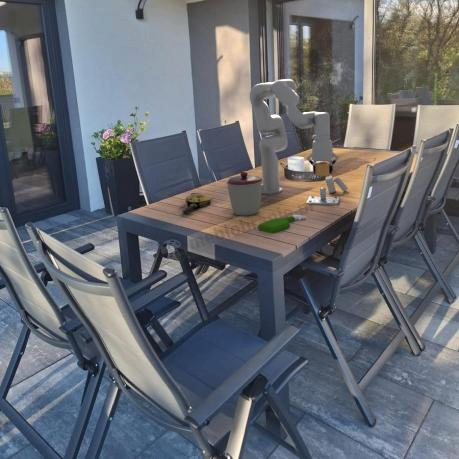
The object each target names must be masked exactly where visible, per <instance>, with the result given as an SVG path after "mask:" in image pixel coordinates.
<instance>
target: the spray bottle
mask: <svg viewBox="0 0 459 459" xmlns="http://www.w3.org/2000/svg"><path fill="white" fill-rule="evenodd" d="M307 219H308V216H305V215H301V214H293V215H291V216H286V217H276V218H275V217H274V218H272V219H269V220H266V221H263V222H261V223H259V224H258V227H257V228H258V230H259V231H262V232H266V233H269V234H274V233H275V234H276V233H278V232H281V231H285V230H286V229H288V228H290V223H292V222H295V221H296V220H298V221H301V220H307Z"/></svg>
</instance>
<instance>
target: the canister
mask: <svg viewBox="0 0 459 459" xmlns="http://www.w3.org/2000/svg"><path fill="white" fill-rule="evenodd" d="M248 174H249V173H248V172H247V171H241V172H240V175H238V176H233V177H230V178H229V179H227V181H225V184H226V185H227V190H228V194H229V200H230V204H231V209H232V212H233V214H235V215H237V216H243V217H244V216H245V217H247V216H248V217H249V216H252V215H256V214H258V213H259V211H260V209H261V203H262V202H261V200H262V193H261V187H262V184H263V178H261V177H260V176H258V175H251V174H249V175H248Z"/></svg>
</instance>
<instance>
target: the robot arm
mask: <svg viewBox="0 0 459 459" xmlns="http://www.w3.org/2000/svg"><path fill="white" fill-rule="evenodd" d="M270 99H277V100H278V101H279V102H280V103H281V104H282V105H283V106H284V107H285V108H286V114H287V117H288V119H289V120H290V121H291V123H292V124H294V125H295V127H297V128H299V129H309V128H313V127H314V128H313V129H314V135H311V139H312V140H313V142H312V146H311V147H312V148H311V154H310V155H308V156H307V157H306V161H308V162H309V164H310V165H311V167H312V171H313V173H314V174H315V175H316V171H315V164H316V163H317V162H329V163H330V166H329V173H330V175H331V174H332V172H333V170H334V169H333V168H334V166H333V165H335V163H336V162H337V161H338V160H339V158H340V157H339V156H338V155H337V154H336V153H335V152H334V149H333V143H332V140H331V119H330V118H331V116H330V113H329V112H324V111H323V112H322V111H321V112H318V111H308V112H301V110H300V109H299V108H298V107H297V106H298V104H299V102H300V96H299V95H298V94H297V84H296V82H295V81H294V80H293V79H290V78H286V79H285V78H284V79H277V80H275V81H273V82H271V81H270V82H262V83H257V84H255V85H254V86H252V87H251V89H250V92H249V101H250V105H251V108H252V109H253V110H252V111H253V112H254V113H253V114H254V118H255V123H256V126H257V132H259V133H260V134H261V135H266V136H264V137H262V138H260V140H259V142H258V148H259V152H260V159H261V160H260V161H261V174H262V175H261V176H262V179H263V182H262V187H261V194H265V195H272V194H273V195H274V194H279V193H282V192H283V188H282V187H280V165H279V158H278V155H277V154H276V153H278V152H283V151H284V150H286V149H287V147H288V144H289V142H288V136H287V131H286V127H285V122H284V120H283V118H282V117H281V116H280V115H277V114H271V112H270V107H269V105H268V104H267V103H266V102H265V100H270ZM269 134H272V135H269ZM267 135H268V136H267ZM333 157H334V159H333Z"/></svg>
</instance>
